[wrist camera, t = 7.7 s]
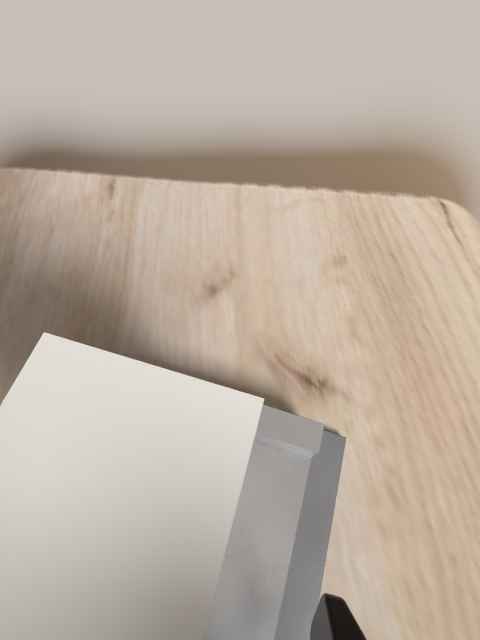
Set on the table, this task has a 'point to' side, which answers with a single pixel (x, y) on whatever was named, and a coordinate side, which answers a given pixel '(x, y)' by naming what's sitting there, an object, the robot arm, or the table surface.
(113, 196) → the table surface
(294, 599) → the rail panel
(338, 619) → the robot arm
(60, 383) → the block
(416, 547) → the table surface
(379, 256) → the table surface
